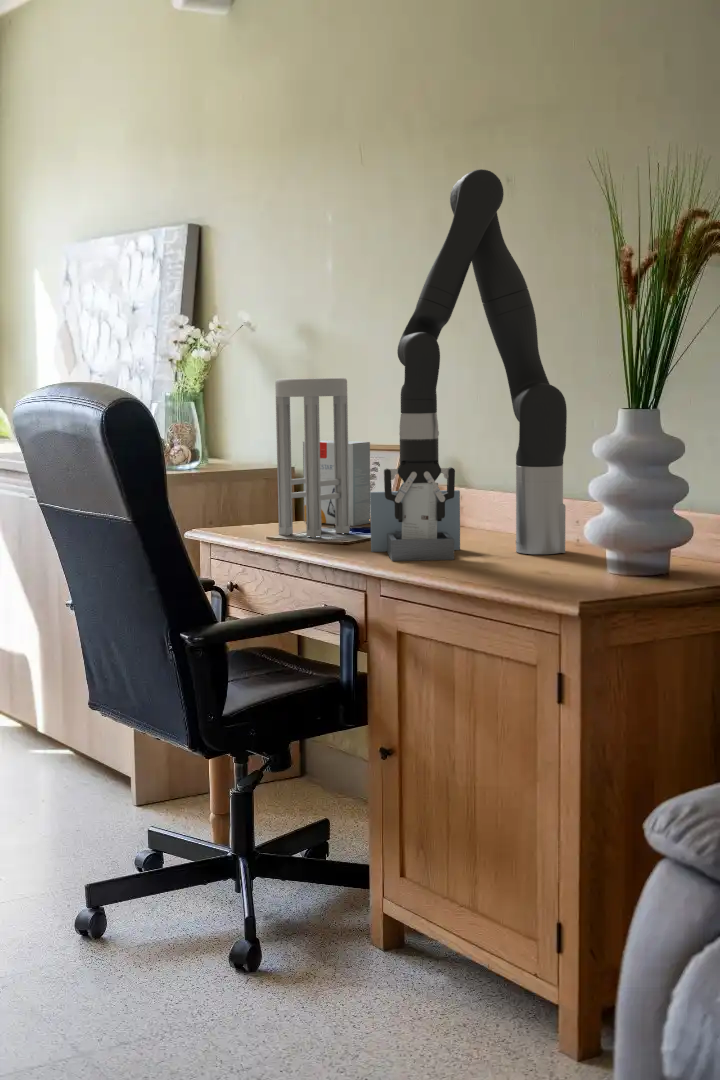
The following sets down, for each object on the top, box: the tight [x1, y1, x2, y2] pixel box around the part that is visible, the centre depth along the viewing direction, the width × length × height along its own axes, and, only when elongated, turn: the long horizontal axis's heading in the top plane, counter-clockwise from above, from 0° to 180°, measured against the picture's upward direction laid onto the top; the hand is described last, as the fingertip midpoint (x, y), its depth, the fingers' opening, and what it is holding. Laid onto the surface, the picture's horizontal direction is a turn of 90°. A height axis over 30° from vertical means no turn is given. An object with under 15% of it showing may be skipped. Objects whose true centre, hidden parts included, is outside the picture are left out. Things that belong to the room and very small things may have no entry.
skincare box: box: [401, 482, 439, 539], centre depth 254 cm, size 6×4×12 cm
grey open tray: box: [386, 530, 455, 562], centre depth 256 cm, size 12×14×4 cm
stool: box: [274, 377, 351, 537], centre depth 293 cm, size 16×16×35 cm
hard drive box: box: [302, 439, 371, 527], centre depth 316 cm, size 16×8×20 cm, turn 53°
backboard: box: [370, 489, 461, 553], centre depth 263 cm, size 18×2×12 cm, turn 93°
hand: (419, 521), depth 254 cm, fingers closed on skincare box, 7 cm apart
